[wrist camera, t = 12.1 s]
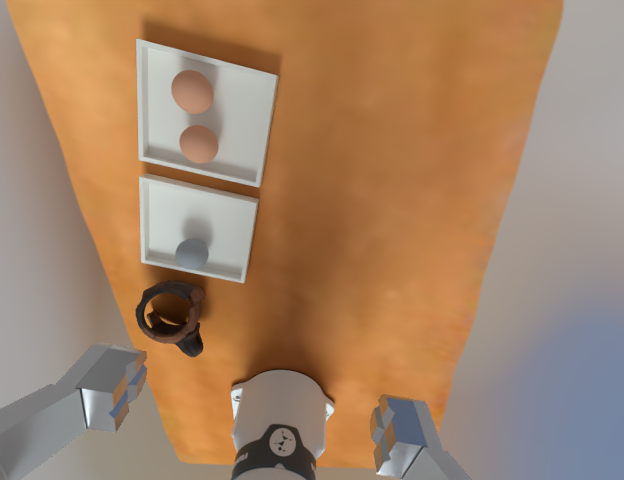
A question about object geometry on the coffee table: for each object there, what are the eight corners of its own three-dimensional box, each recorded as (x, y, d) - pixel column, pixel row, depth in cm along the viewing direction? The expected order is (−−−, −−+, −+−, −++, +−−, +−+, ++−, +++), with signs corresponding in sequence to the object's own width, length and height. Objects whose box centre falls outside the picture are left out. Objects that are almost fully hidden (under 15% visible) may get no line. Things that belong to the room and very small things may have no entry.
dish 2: (246, 276, 43) (243, 283, 41) (148, 256, 42) (141, 262, 40) (259, 198, 38) (256, 203, 36) (147, 173, 37) (139, 176, 35)
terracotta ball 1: (219, 119, 32) (189, 116, 29) (193, 110, 34) (161, 106, 30) (223, 78, 30) (191, 70, 27) (196, 70, 32) (162, 62, 29)
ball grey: (211, 262, 41) (201, 278, 38) (182, 256, 41) (169, 271, 37) (214, 237, 40) (203, 251, 36) (183, 230, 39) (170, 244, 36)
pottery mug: (136, 300, 46) (111, 310, 38) (189, 263, 48) (176, 266, 40) (184, 360, 47) (170, 382, 39) (234, 322, 49) (231, 336, 41)
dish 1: (261, 183, 37) (259, 187, 35) (147, 157, 36) (138, 159, 34) (279, 76, 32) (276, 75, 30) (145, 41, 31) (136, 38, 29)
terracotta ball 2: (221, 163, 35) (210, 170, 32) (187, 155, 35) (172, 162, 31) (224, 128, 34) (213, 132, 30) (189, 119, 33) (173, 122, 30)
